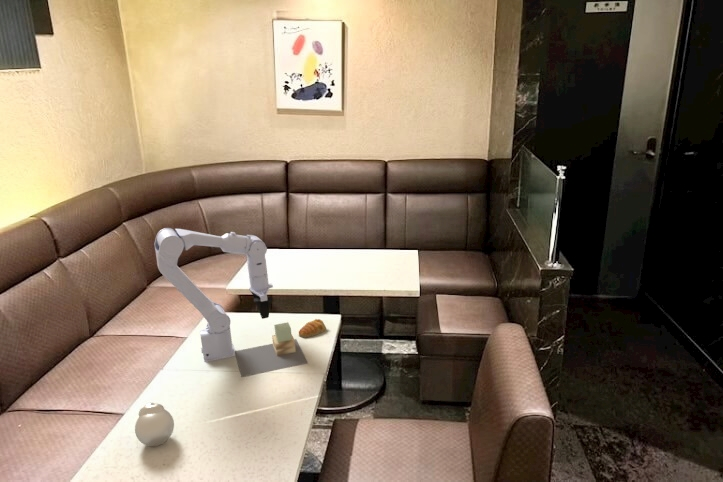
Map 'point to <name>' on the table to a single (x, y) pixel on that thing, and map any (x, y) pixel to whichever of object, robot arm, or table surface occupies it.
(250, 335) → the table surface
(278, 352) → the tower base slab
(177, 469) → the table surface
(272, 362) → the mat
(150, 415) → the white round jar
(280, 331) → the green block
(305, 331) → the pastry
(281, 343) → the tower top slab
